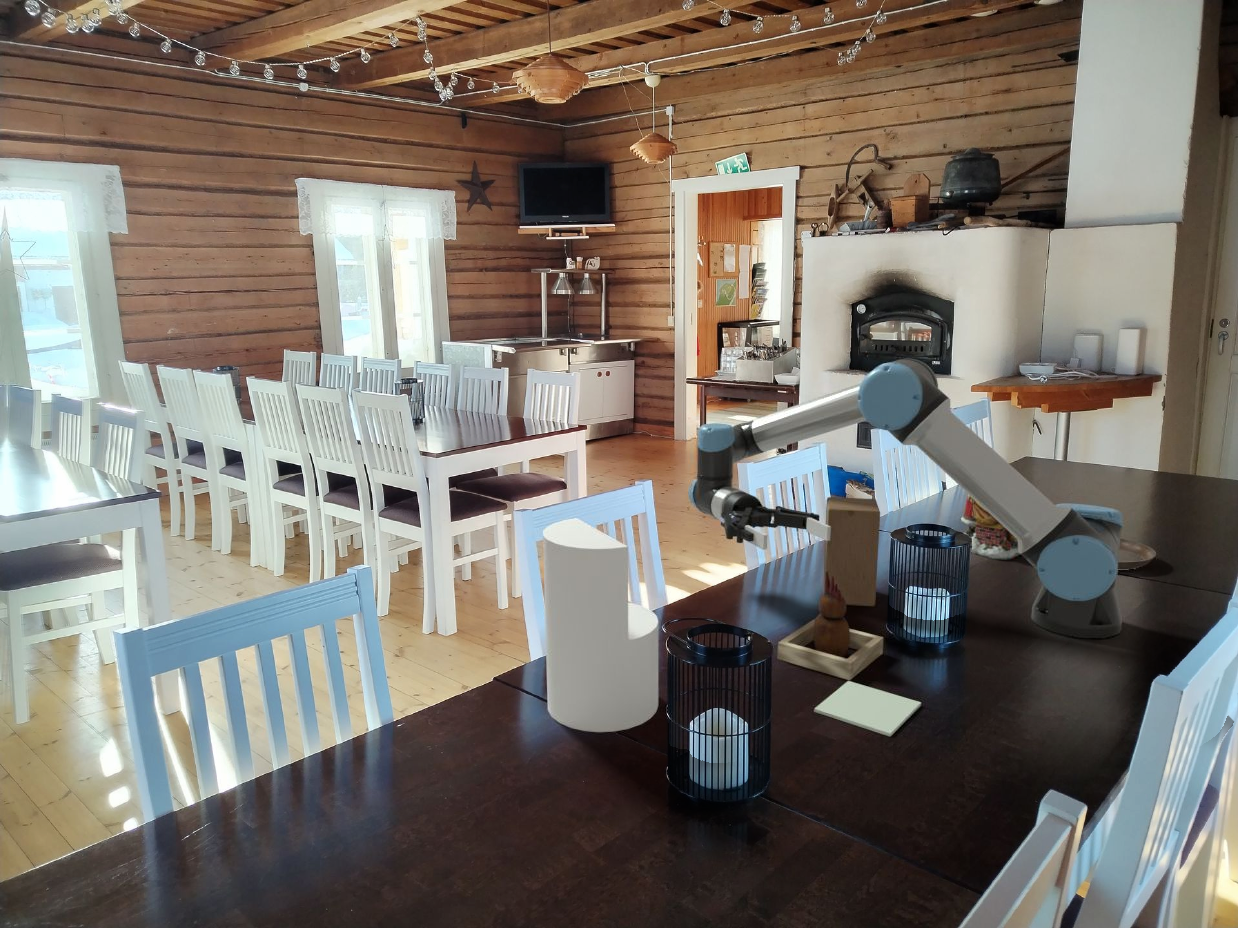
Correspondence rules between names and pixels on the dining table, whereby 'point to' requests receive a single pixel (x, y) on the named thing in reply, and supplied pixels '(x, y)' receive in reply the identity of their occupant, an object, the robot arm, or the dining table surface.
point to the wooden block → (853, 548)
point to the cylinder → (595, 633)
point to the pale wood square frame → (837, 666)
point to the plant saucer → (1136, 549)
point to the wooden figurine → (831, 622)
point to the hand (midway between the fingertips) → (797, 538)
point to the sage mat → (868, 708)
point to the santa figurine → (988, 533)
